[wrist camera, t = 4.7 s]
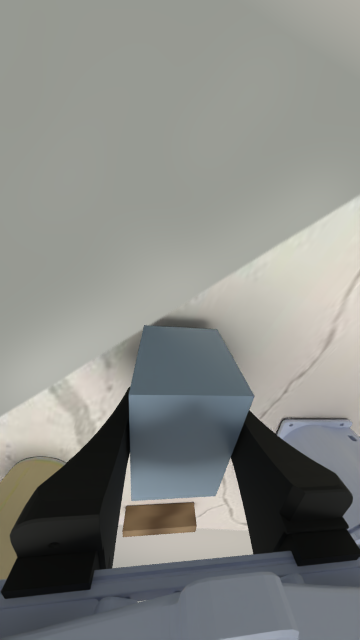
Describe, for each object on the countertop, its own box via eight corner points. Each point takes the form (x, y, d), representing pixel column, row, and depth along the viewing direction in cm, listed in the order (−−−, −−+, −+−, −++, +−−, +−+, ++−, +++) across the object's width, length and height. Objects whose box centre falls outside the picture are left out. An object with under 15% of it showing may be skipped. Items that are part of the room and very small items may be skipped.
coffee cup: (70, 504, 25) (-7, 714, 13) (-6, 492, 22) (-175, 731, 11) (94, 462, 22) (24, 675, 11) (12, 443, 20) (-183, 686, 9)
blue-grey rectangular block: (217, 329, 14) (254, 396, 8) (199, 412, 18) (215, 495, 13) (144, 325, 14) (128, 394, 8) (142, 412, 18) (131, 500, 12)
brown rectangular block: (193, 502, 27) (196, 525, 25) (192, 508, 28) (195, 531, 25) (126, 506, 26) (122, 531, 24) (126, 512, 26) (122, 537, 24)
